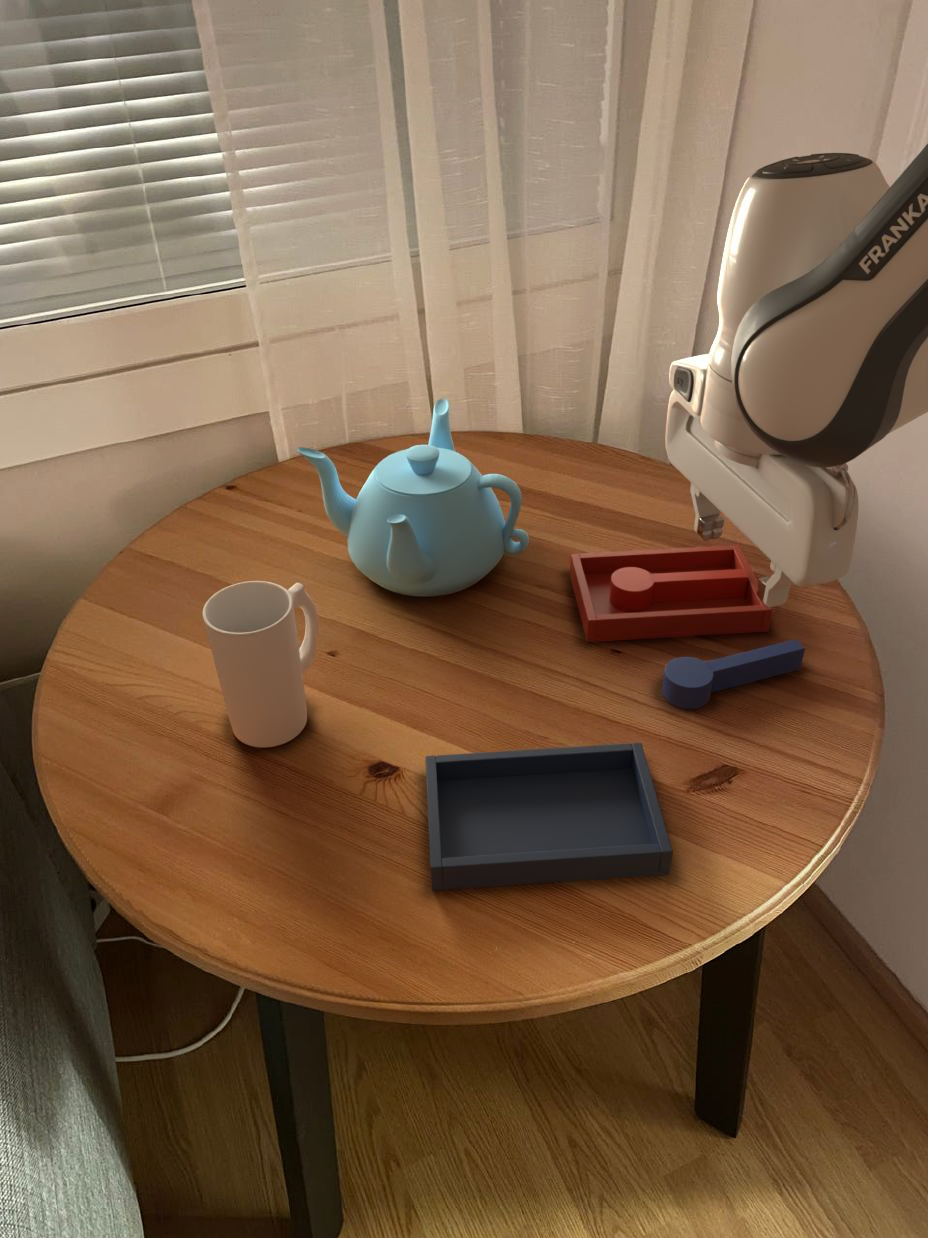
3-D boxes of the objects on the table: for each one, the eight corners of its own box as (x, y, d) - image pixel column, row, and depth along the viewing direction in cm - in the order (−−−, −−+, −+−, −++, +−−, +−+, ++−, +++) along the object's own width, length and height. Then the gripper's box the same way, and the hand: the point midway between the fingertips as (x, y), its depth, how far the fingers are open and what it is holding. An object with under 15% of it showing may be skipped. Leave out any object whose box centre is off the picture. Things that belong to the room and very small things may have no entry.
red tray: (735, 565, 100) (739, 544, 98) (768, 631, 91) (772, 609, 90) (569, 574, 99) (570, 553, 97) (586, 642, 91) (588, 620, 89)
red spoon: (737, 581, 97) (740, 560, 95) (748, 606, 93) (752, 585, 92) (606, 588, 96) (607, 567, 95) (613, 613, 93) (615, 592, 92)
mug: (268, 763, 80) (244, 646, 72) (211, 728, 83) (183, 613, 75) (354, 694, 86) (340, 579, 78) (298, 664, 89) (279, 552, 82)
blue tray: (638, 765, 78) (641, 742, 77) (669, 875, 70) (673, 851, 69) (426, 778, 78) (425, 755, 76) (432, 891, 69) (430, 868, 68)
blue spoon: (782, 651, 89) (787, 629, 87) (808, 679, 86) (814, 657, 84) (653, 684, 86) (656, 662, 84) (676, 714, 83) (679, 692, 81)
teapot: (303, 554, 103) (288, 447, 95) (447, 493, 112) (443, 391, 104) (401, 634, 92) (392, 520, 85) (551, 559, 101) (555, 450, 94)
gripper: (902, 465, 63) (853, 636, 71) (732, 343, 78) (708, 496, 87) (815, 483, 61) (776, 656, 70) (659, 355, 77) (642, 509, 85)
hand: (737, 566), depth 78 cm, fingers open, 8 cm apart
